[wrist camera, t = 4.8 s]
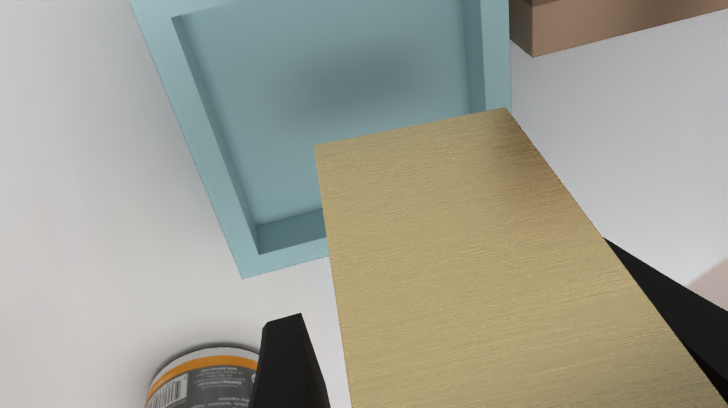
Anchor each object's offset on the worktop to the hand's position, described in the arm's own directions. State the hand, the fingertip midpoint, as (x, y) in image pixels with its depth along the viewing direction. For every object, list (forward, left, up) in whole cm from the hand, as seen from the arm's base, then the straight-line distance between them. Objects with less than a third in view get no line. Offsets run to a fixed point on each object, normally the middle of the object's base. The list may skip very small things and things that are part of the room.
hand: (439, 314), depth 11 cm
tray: (0, 0, -10) cm, 10 cm away
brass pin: (-1, 0, -3) cm, 3 cm away
